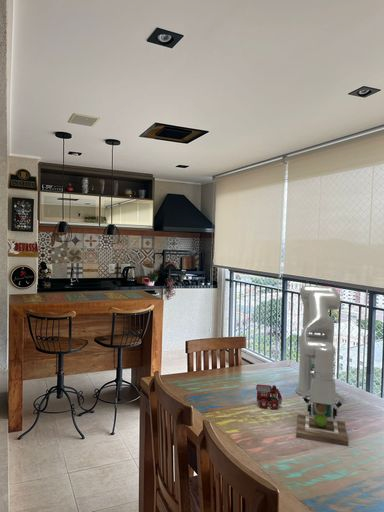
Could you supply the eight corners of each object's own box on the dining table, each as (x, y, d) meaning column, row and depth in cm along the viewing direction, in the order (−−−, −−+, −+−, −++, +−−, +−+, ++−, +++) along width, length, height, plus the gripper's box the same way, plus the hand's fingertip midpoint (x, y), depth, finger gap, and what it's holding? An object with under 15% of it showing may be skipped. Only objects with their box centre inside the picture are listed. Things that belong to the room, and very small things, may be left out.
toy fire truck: (282, 410, 184) (283, 388, 184) (256, 408, 185) (256, 386, 185) (280, 404, 191) (281, 383, 191) (255, 402, 192) (256, 381, 192)
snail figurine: (309, 423, 166) (310, 396, 166) (323, 423, 167) (324, 395, 167) (315, 429, 161) (316, 401, 161) (329, 429, 162) (330, 401, 162)
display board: (297, 418, 176) (297, 412, 175) (344, 426, 170) (344, 419, 170) (295, 437, 158) (296, 429, 158) (348, 446, 152) (348, 438, 152)
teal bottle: (330, 410, 185) (332, 365, 185) (331, 417, 177) (333, 370, 177) (309, 407, 189) (311, 362, 188) (309, 414, 181) (311, 367, 180)
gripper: (302, 375, 162) (300, 415, 163) (346, 381, 157) (344, 422, 158) (302, 370, 169) (300, 408, 170) (344, 375, 164) (342, 415, 165)
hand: (321, 415), depth 164 cm, fingers open, 9 cm apart
